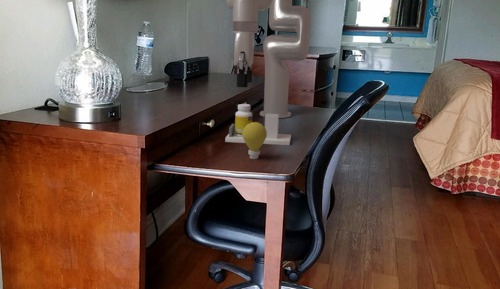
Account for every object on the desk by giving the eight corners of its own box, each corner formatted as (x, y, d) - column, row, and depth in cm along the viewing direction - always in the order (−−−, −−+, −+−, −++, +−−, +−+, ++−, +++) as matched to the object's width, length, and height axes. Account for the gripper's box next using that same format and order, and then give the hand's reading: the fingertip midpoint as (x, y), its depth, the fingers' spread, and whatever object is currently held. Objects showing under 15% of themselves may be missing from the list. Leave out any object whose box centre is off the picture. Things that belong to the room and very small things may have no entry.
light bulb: (241, 154, 132) (241, 119, 130) (264, 154, 133) (265, 119, 130) (242, 161, 126) (243, 125, 123) (267, 161, 126) (268, 125, 124)
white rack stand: (230, 135, 154) (230, 110, 152) (290, 138, 152) (292, 113, 149) (225, 141, 145) (225, 115, 143) (289, 145, 143) (290, 119, 141)
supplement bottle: (250, 137, 146) (250, 106, 143) (233, 136, 147) (233, 106, 145) (253, 133, 151) (254, 104, 149) (237, 132, 152) (237, 103, 150)
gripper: (237, 26, 149) (237, 80, 154) (227, 28, 133) (227, 88, 137) (260, 27, 148) (259, 81, 153) (254, 29, 132) (253, 89, 136)
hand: (244, 84), depth 145 cm, fingers open, 9 cm apart
